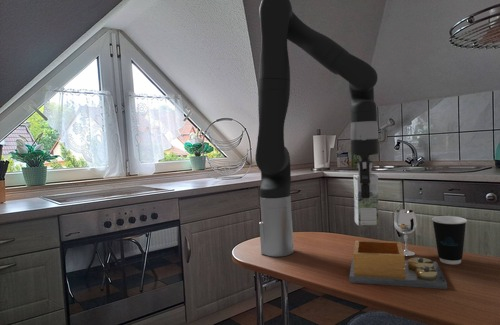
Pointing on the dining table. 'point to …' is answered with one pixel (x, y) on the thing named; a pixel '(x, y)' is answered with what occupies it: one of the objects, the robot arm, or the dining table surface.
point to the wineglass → (405, 225)
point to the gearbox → (392, 266)
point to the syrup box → (366, 202)
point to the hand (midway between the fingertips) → (365, 195)
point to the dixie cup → (449, 238)
